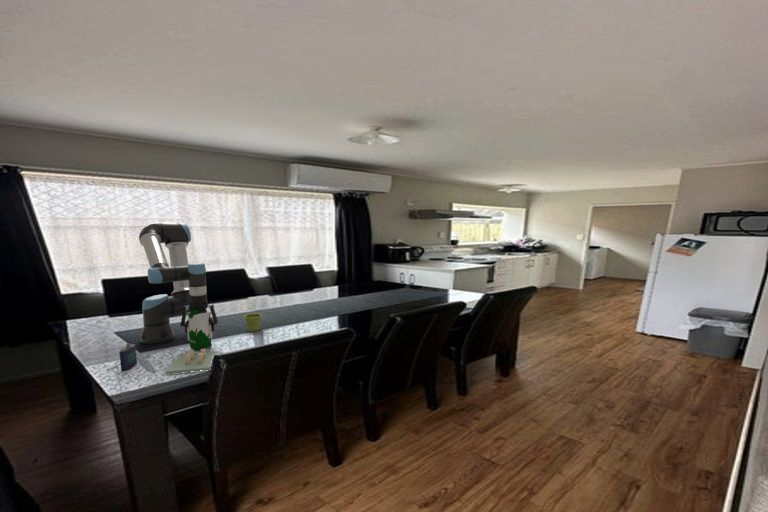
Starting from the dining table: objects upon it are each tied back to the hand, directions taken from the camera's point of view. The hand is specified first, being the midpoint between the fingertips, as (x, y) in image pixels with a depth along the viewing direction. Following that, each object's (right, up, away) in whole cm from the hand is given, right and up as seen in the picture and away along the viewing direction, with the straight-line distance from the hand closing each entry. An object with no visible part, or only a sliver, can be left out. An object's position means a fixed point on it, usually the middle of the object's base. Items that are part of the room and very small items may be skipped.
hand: (200, 338), depth 170 cm
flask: (-19, -7, -22) cm, 30 cm away
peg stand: (+8, -7, -18) cm, 21 cm away
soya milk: (0, -5, +1) cm, 5 cm away
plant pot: (+16, -2, +29) cm, 33 cm away
